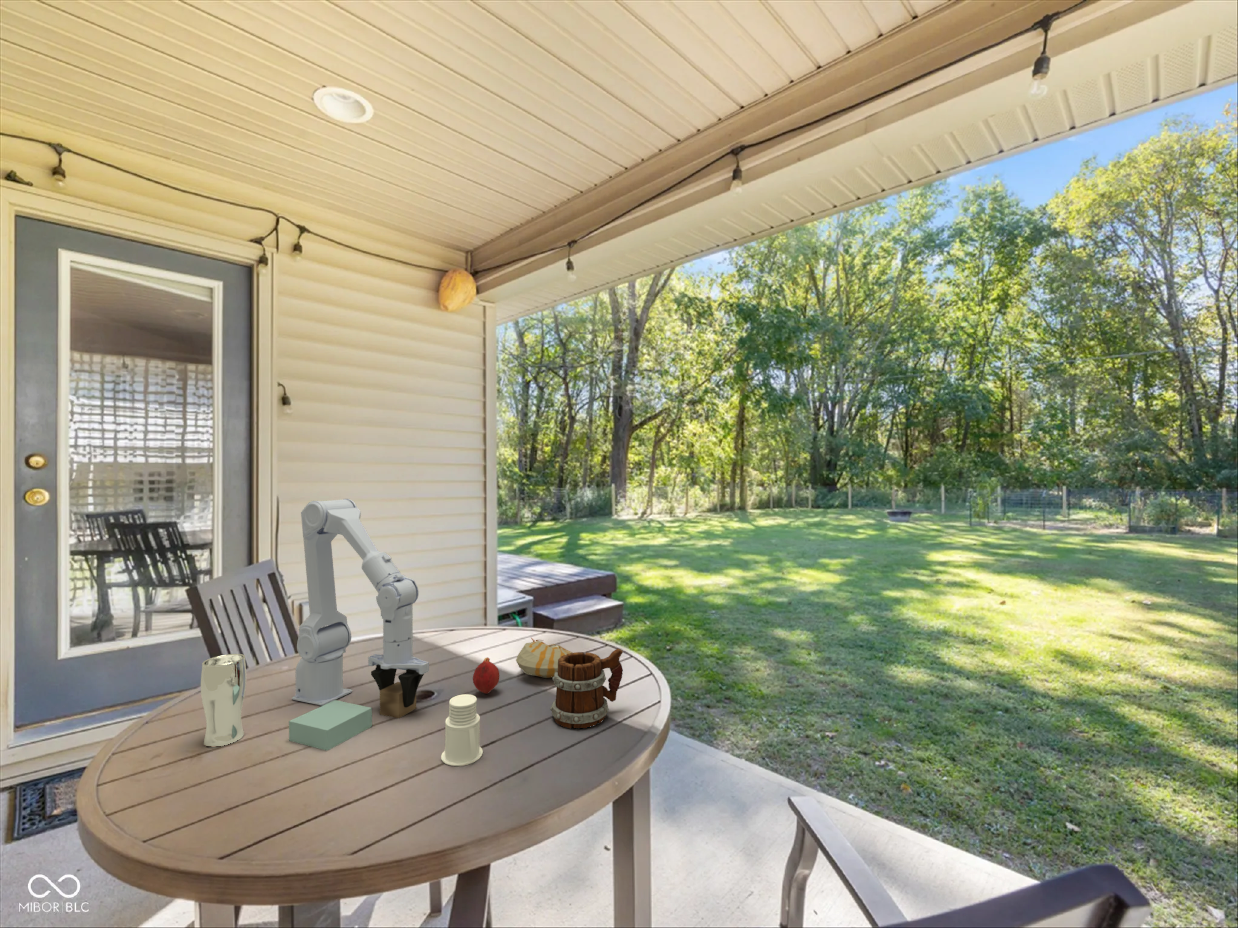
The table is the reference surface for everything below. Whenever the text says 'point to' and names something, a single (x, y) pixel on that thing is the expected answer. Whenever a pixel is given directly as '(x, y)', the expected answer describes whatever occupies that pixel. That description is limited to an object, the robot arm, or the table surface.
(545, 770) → the table surface
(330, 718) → the riser block
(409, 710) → the walnut block
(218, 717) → the beer glass
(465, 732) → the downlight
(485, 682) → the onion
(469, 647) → the table surface
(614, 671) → the mug
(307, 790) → the table surface
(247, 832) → the table surface
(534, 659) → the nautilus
